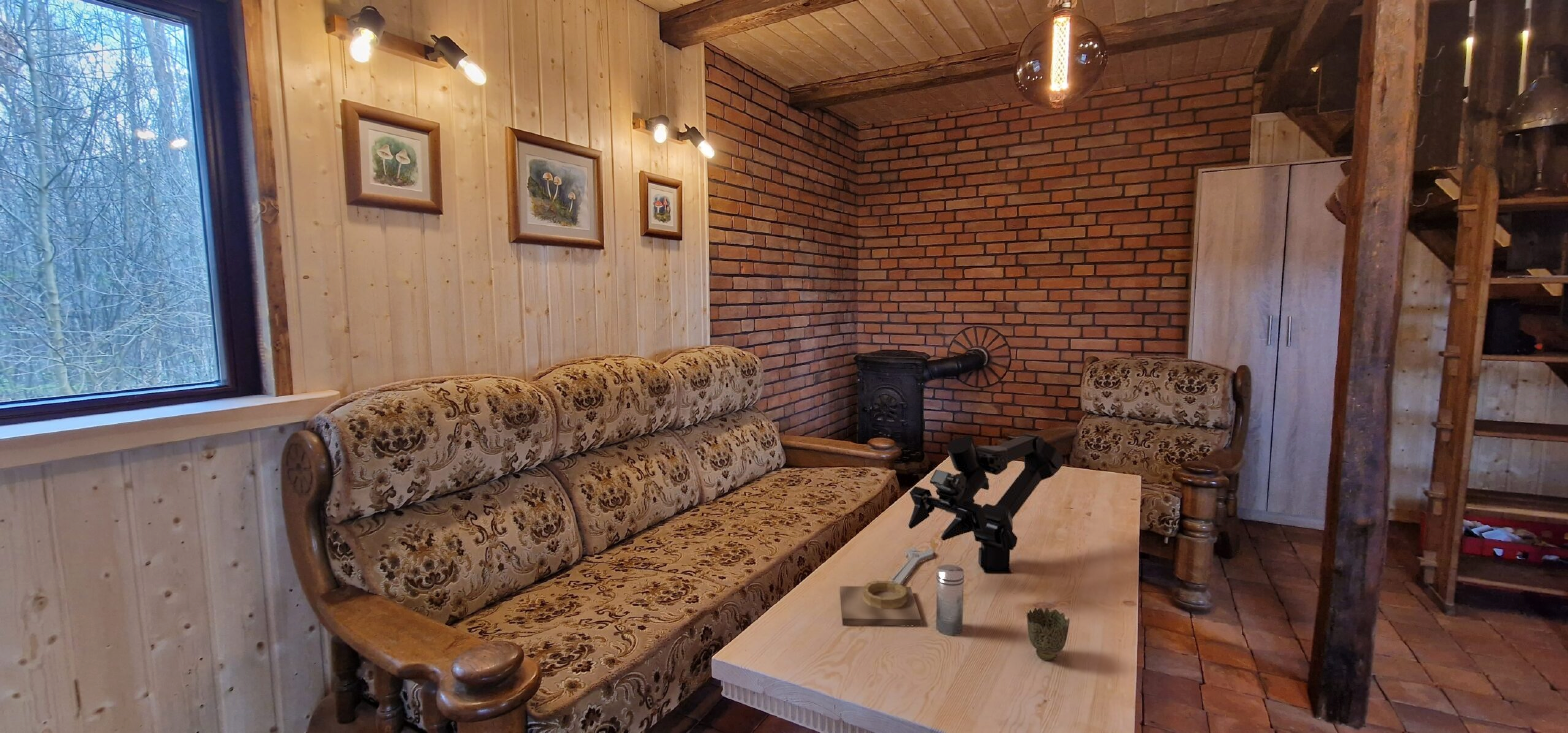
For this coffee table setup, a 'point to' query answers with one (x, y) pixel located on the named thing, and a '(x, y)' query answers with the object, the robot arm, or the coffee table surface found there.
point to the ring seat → (879, 605)
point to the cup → (1047, 632)
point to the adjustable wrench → (911, 563)
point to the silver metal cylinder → (949, 600)
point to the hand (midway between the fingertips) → (925, 532)
